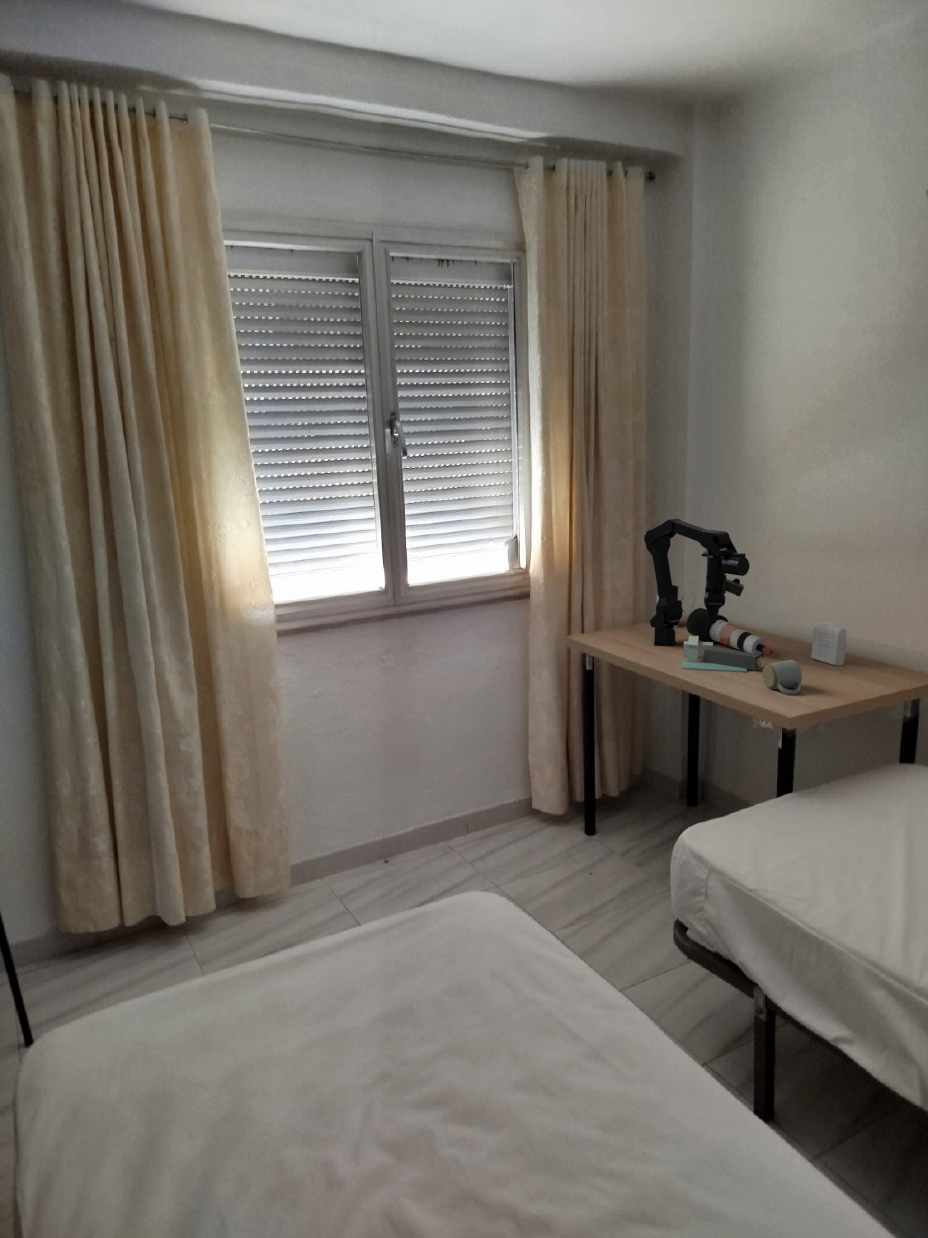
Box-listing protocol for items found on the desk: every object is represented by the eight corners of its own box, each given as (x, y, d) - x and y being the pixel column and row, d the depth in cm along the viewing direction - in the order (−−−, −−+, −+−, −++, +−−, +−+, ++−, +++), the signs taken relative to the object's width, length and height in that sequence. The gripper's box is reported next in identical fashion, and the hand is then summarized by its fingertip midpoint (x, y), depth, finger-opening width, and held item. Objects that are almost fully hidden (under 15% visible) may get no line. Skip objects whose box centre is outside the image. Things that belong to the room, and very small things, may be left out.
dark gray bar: (701, 661, 249) (701, 649, 248) (706, 658, 252) (707, 646, 251) (757, 670, 238) (758, 657, 237) (762, 667, 241) (763, 654, 240)
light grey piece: (687, 662, 249) (687, 645, 248) (688, 651, 262) (689, 635, 261) (697, 663, 248) (697, 645, 247) (698, 652, 261) (698, 635, 260)
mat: (681, 668, 243) (681, 667, 243) (682, 662, 250) (682, 661, 249) (747, 672, 237) (747, 671, 237) (746, 666, 244) (746, 664, 244)
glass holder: (657, 622, 304) (657, 584, 301) (695, 625, 299) (696, 585, 295) (652, 627, 296) (653, 588, 293) (692, 630, 291) (693, 589, 288)
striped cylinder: (763, 673, 251) (756, 648, 247) (690, 640, 280) (683, 618, 275) (785, 655, 254) (779, 631, 249) (711, 624, 282) (704, 602, 278)
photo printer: (846, 664, 242) (849, 625, 240) (836, 666, 241) (839, 626, 238) (818, 657, 251) (821, 618, 249) (809, 658, 250) (811, 620, 247)
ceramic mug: (759, 685, 225) (761, 659, 223) (786, 682, 227) (788, 656, 225) (780, 697, 215) (782, 669, 213) (808, 694, 216) (810, 667, 215)
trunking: (683, 656, 257) (683, 644, 256) (683, 652, 261) (684, 641, 260) (712, 657, 254) (712, 645, 253) (712, 654, 258) (712, 642, 257)
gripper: (743, 577, 239) (741, 628, 242) (742, 567, 256) (740, 615, 260) (705, 576, 242) (702, 626, 246) (706, 566, 259) (704, 613, 263)
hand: (713, 620), depth 253 cm, fingers open, 9 cm apart
